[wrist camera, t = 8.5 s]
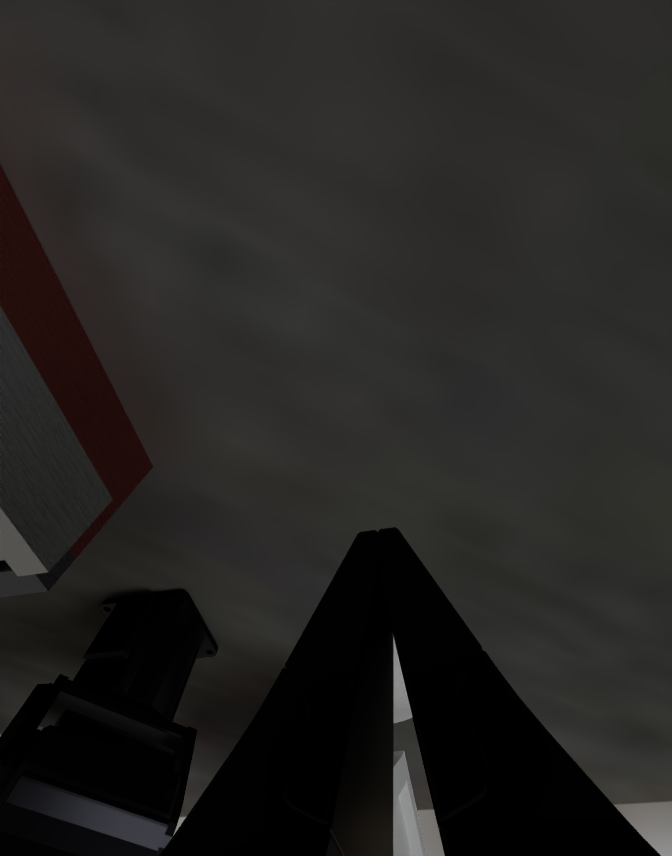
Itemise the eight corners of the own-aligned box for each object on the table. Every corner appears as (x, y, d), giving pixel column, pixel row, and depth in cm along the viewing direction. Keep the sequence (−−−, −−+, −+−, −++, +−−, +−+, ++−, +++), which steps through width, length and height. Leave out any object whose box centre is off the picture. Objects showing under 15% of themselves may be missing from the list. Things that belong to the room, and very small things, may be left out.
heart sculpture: (426, 726, 33) (489, 1192, 17) (367, 732, 34) (376, 1181, 18) (382, 599, 27) (419, 1165, 11) (311, 611, 28) (246, 1149, 12)
